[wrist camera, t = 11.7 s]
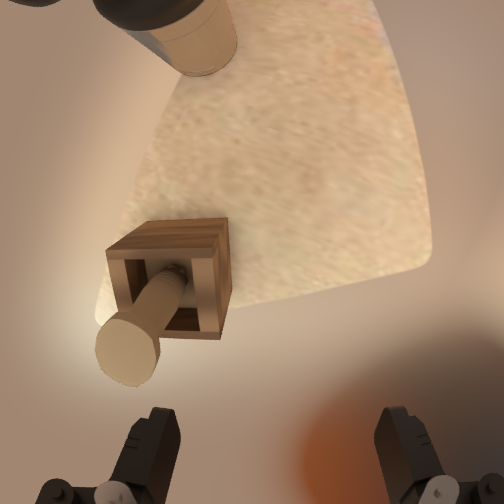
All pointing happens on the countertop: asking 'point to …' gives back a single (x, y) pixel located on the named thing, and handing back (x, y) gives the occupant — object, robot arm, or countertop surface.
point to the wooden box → (183, 256)
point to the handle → (140, 329)
